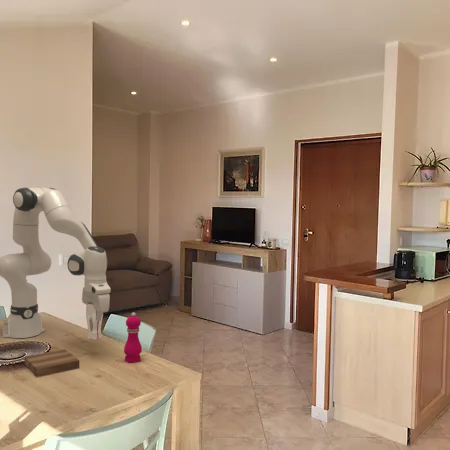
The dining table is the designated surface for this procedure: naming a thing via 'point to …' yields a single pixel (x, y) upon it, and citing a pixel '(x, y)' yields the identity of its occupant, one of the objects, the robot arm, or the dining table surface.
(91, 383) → the dining table surface
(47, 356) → the walnut base
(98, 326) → the beer glass
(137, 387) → the dining table surface
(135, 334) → the pepper mill
